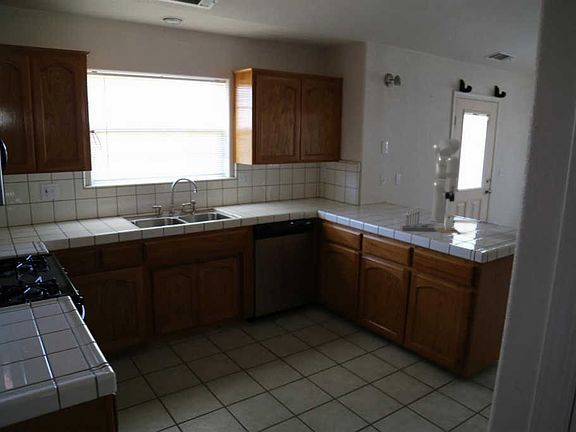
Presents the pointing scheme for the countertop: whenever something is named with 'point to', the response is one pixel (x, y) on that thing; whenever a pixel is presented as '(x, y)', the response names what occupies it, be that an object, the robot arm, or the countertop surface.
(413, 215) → the test tube rack
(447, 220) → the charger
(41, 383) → the countertop surface
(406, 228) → the power strip
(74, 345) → the countertop surface
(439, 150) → the robot arm
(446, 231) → the walnut board
